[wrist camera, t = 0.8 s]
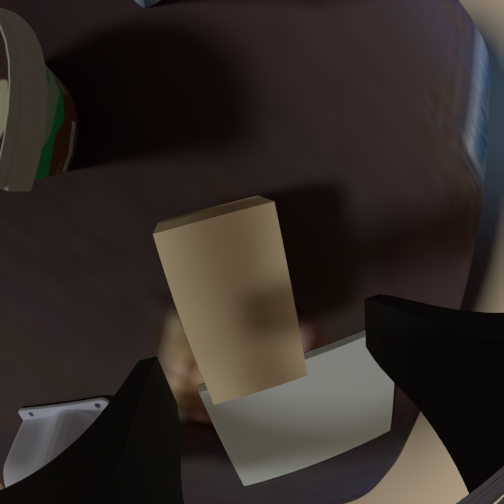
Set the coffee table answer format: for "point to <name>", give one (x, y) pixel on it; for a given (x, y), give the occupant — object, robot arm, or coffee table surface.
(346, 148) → the coffee table surface
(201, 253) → the beige cardboard carton
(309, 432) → the blue-grey board
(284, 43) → the coffee table surface
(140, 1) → the ink cartridge box
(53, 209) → the coffee table surface
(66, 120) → the food container
